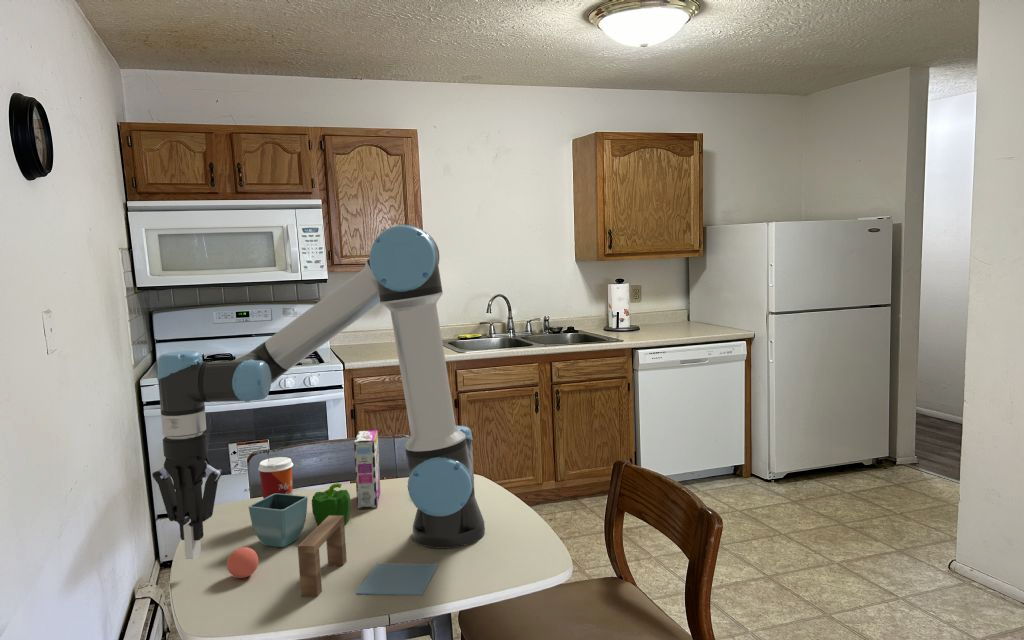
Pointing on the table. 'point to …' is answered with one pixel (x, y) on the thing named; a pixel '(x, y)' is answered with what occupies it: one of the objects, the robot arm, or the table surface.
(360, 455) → the candy bar box
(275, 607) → the table surface
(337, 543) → the bridge
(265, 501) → the flower pot
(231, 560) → the ball
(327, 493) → the bell pepper
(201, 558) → the table surface
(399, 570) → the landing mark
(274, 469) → the paper cup
